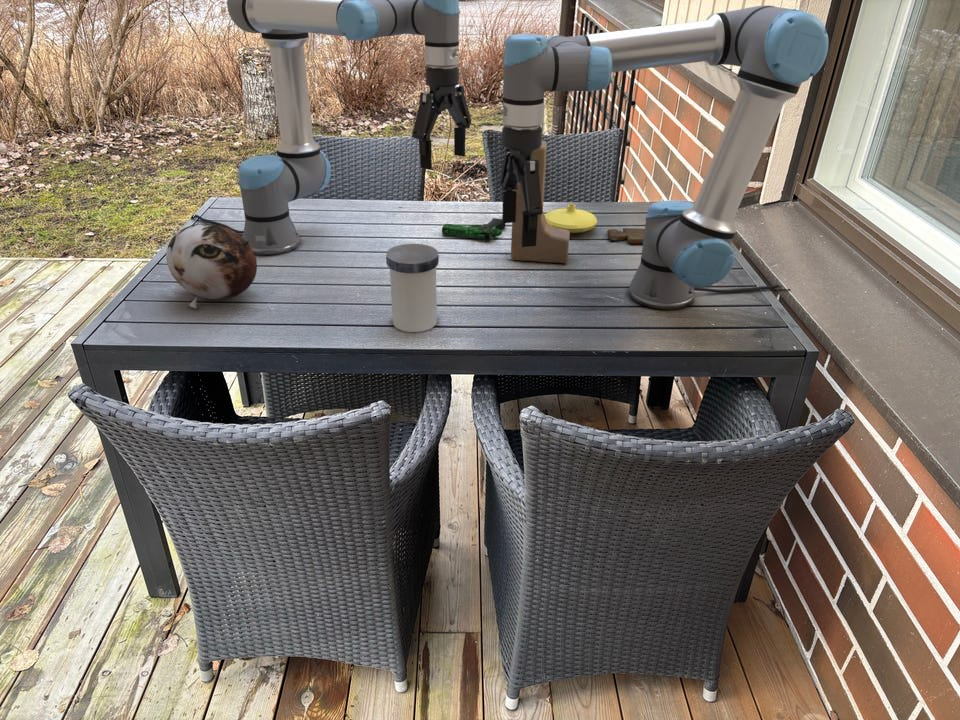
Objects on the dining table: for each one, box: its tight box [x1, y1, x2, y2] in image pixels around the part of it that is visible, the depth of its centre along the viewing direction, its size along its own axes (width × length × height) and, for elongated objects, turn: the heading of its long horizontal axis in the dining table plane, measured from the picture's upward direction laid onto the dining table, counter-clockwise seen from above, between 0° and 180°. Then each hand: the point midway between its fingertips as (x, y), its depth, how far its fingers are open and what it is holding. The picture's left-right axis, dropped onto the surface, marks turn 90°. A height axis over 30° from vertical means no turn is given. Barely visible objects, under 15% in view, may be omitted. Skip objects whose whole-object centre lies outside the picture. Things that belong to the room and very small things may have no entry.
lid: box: [385, 243, 440, 273], centre depth 152 cm, size 11×11×2 cm
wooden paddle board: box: [606, 227, 645, 244], centre depth 205 cm, size 26×2×10 cm
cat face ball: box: [165, 222, 258, 309], centre depth 165 cm, size 22×18×20 cm
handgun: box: [441, 217, 507, 242], centre depth 207 cm, size 16×3×15 cm
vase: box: [544, 203, 598, 234], centre depth 209 cm, size 16×16×7 cm
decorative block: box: [510, 140, 571, 264], centre depth 184 cm, size 8×15×30 cm, turn 82°
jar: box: [389, 267, 438, 333], centre depth 155 cm, size 10×10×16 cm
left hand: (443, 161), depth 169 cm, fingers open, 13 cm apart
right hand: (518, 233), depth 144 cm, fingers open, 13 cm apart
